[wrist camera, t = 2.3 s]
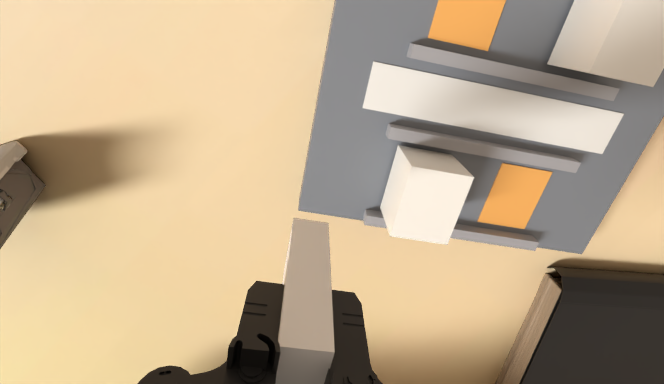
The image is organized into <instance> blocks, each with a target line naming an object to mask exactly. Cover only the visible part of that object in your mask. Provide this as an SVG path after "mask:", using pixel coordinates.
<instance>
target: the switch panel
mask: <svg viewBox="0 0 664 384" xmlns="http://www.w3.org/2000/svg"><path fill="white" fill-rule="evenodd" d="M573 2H574V0H335V3H334V8H333V14H332V19H331V25H330V31H329V36H328V42H327V47H326V53H325V59H324V64H323V70H322V75H321V81H320V86H319V92H318V98H317V103H316V109H315V114H314V120H313V125H312V131H311V137H310V142H309V148H308V153H307V159H306V165H305V170H304V176H303V181H302V187H301V192H300V198H299V209H298V211H304V212H311V213H317V214H324V215H330V216H337V217H343V218H350V219H356V220H363V221H364V225H369V226H375V227H382V228H387V226H386V223H385V220H384V217H383V214H382V211H381V208H380V206H381V203H382V199H383V196H384V192H385V189H386V185H387V182H388V178H389V175H390V171H391V168H392V164H393V161H394V158H395V154H396V151H397V147H398V145H401V146H406V147H412V148H417V149H423V150H428V151H434V152H439V153H445V154H450V155H453V156H454V157H455V158H456V159H457V160H458V161H459V162H460V163H461V164H462V165H463V166H464V167H465V168H466V169H467V170H468V171H469V172H470V173H471V174H472V175H473V176H474V179H473V182H472V184H471V187H470V189H469V192H468V194H467V197H466V199H465V202H464V204H463V207H462V209H461V212H460V214H459V217H458V219H457V222H456V224H455V227H454V229H453V232H452V234H451V237H450V238H454V239H461V240H467V241H474V242H480V243H487V244H494V245H500V246H507V247H513V248H520V249H526V250H533V251H535V250H536V248H537V247H539V248H545V249H552V250H558V251H565V252H571V253H578V254H582V253H583V251H584V250H585V248H586V246H587V245H588V243H589V241H590V240H591V238H592V236H593V235H594V233H595V231H596V229H597V228H598V226H599V224H600V223H601V221H602V219H603V218H604V216H605V214H606V213H607V211H608V209H609V208H610V206H611V204H612V202H613V201H614V199H615V197H616V196H617V194H618V192H619V191H620V189H621V187H622V186H623V184H624V182H625V181H626V179H627V177H628V176H629V174H630V172H631V170H632V169H633V167H634V165H635V164H636V162H637V160H638V159H639V157H640V155H641V154H642V152H643V150H644V149H645V147H646V145H647V143H648V142H649V140H650V138H651V137H652V135H653V133H654V132H655V130H656V128H657V127H658V125H659V123H660V122H661V120H662V118H663V116H664V69H663V71H662V73H661V74H660V76H659V78H658V80H657V81H656V83H655V85H654V87H650V86H646V85H641V84H636V83H631V82H627V81H622V80H617V79H612V78H607V77H603V76H598V75H594V74H589V73H585V72H580V71H576V70H571V69H566V68H562V67H557V66H553V65H548V64H547V63H548V61H549V58H550V56H551V54H552V51H553V49H554V47H555V44H556V42H557V40H558V37H559V35H560V33H561V30H562V28H563V26H564V23H565V21H566V19H567V16H568V14H569V12H570V9H571V7H572V5H573Z"/></svg>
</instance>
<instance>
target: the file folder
mask: <svg viewBox="0 0 664 384" xmlns="http://www.w3.org/2000/svg"><path fill="white" fill-rule="evenodd" d="M547 268H555V269H556V271H557V272H558V273H559V274H560V275H561V276H562V277H561V278H562V279H558V278H552V276H551V274H547V273H545V275H544V277H543V279H542V281H541V284H540V286H539V289H538V292H537V294H536V297H535V299H534V301H533V303H532V305H531V308H530V310H529V312H528V314H527V316H526V318H525V320H524V322H523V325H522V327H521V329H520V331H519V333H518V335H517V338H516V340H515V342H514V344H513V346H512V348H511V350H510V353H509V355H508V357H507V359H506V361H505V363H504V365H503V368H502V370H501V372H500V374H499V377H498V379H497V381H496V384H664V275H662V274H648V273H634V272H620V271H605V270H591V269H577V268H563V267H547Z"/></svg>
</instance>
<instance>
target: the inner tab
mask: <svg viewBox="0 0 664 384" xmlns="http://www.w3.org/2000/svg"><path fill="white" fill-rule="evenodd" d="M473 179H474V176H473V175H472V174H471V173H470V172H469V171H468V170H467V169H466V168H465V167H464V166H463V165H462V164H461V163H460V162H459V161H458V160H457V159H456V158H455V157H454V156H453V155H450V154H445V153H439V152H434V151H428V150H423V149H417V148H412V147H406V146H401V145H398V147H397V151H396V154H395V158H394V161H393V164H392V168H391V171H390V175H389V178H388V182H387V185H386V189H385V192H384V196H383V199H382V203H381V206H380V208H381V211H382V214H383V217H384V220H385V223H386V226H387V229H388V232H389V235H390V236H392V237H398V238H405V239H412V240H418V241H425V242H432V243H439V244H445V245H448V242H449V239H450V237H451V234H452V232H453V229H454V227H455V224H456V222H457V219H458V217H459V214H460V212H461V209H462V207H463V204H464V202H465V199H466V197H467V194H468V192H469V189H470V187H471V184H472V182H473Z"/></svg>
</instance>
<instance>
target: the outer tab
mask: <svg viewBox="0 0 664 384" xmlns="http://www.w3.org/2000/svg"><path fill="white" fill-rule="evenodd" d="M547 64H548V65H553V66H557V67H562V68H566V69H571V70H576V71H580V72H585V73H589V74H594V75H598V76H603V77H607V78H612V79H617V80H622V81H627V82H631V83H636V84H641V85H646V86H650V87H654V85H655V83H656V81H657V80H658V78H659V76H660V74H661V73H662V71H663V69H664V0H574V2H573V5H572V7H571V9H570V12H569V14H568V16H567V19H566V21H565V23H564V26H563V28H562V30H561V33H560V35H559V37H558V40H557V42H556V44H555V47H554V49H553V51H552V54H551V56H550V58H549V61H548V63H547Z"/></svg>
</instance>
